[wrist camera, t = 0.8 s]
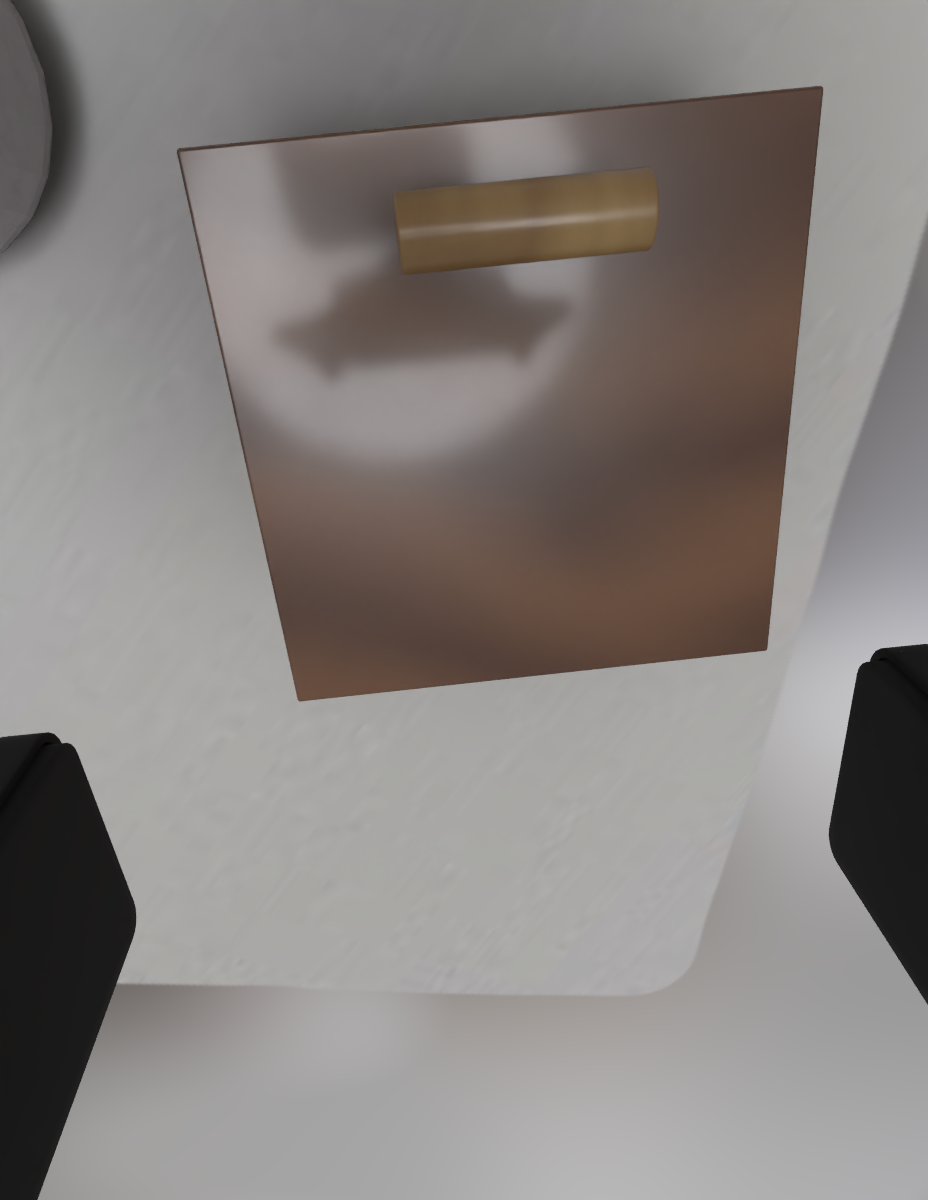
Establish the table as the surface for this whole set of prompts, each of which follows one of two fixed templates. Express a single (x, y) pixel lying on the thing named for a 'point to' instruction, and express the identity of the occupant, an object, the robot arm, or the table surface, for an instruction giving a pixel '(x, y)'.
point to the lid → (514, 381)
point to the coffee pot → (21, 126)
